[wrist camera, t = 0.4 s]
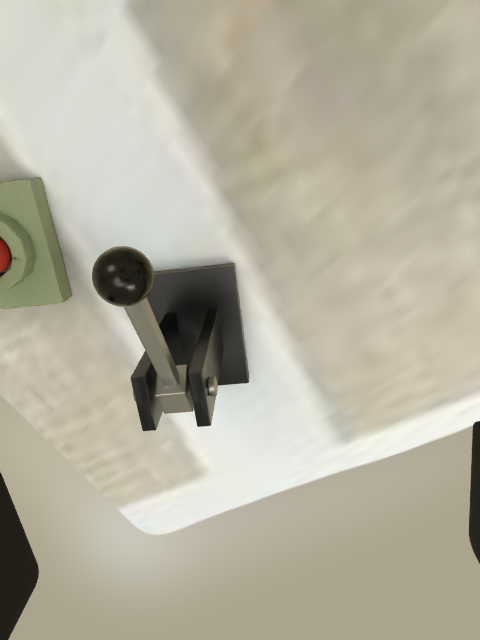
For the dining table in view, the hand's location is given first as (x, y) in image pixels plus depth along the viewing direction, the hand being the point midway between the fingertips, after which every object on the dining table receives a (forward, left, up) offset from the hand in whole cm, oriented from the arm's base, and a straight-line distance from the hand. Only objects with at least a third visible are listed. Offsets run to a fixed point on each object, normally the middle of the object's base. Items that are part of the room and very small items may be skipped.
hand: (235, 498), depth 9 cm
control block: (0, -23, -34) cm, 41 cm away
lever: (+4, -7, -20) cm, 22 cm away
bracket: (+10, -7, -34) cm, 36 cm away
